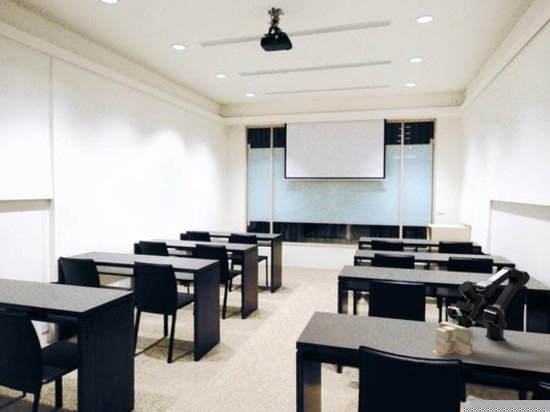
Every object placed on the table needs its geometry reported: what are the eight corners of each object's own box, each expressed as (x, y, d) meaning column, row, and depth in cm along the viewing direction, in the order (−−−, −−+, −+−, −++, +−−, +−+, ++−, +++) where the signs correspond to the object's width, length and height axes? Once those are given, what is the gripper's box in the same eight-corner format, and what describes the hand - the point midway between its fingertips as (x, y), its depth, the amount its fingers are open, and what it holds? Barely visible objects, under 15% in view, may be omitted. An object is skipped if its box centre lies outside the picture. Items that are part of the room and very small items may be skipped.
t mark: (441, 342, 185) (441, 342, 185) (472, 353, 172) (472, 353, 172) (421, 348, 178) (421, 347, 178) (452, 360, 165) (452, 359, 165)
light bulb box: (466, 333, 198) (466, 312, 197) (452, 332, 199) (452, 311, 199) (460, 326, 208) (460, 306, 208) (447, 326, 209) (447, 306, 209)
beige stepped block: (444, 342, 185) (444, 321, 185) (472, 352, 173) (472, 329, 173) (426, 347, 179) (426, 325, 178) (454, 358, 167) (454, 334, 166)
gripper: (448, 290, 190) (433, 316, 184) (485, 299, 174) (470, 327, 168) (457, 304, 194) (443, 330, 188) (495, 314, 178) (480, 342, 172)
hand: (458, 332), depth 179 cm, fingers closed, pressing on beige stepped block
